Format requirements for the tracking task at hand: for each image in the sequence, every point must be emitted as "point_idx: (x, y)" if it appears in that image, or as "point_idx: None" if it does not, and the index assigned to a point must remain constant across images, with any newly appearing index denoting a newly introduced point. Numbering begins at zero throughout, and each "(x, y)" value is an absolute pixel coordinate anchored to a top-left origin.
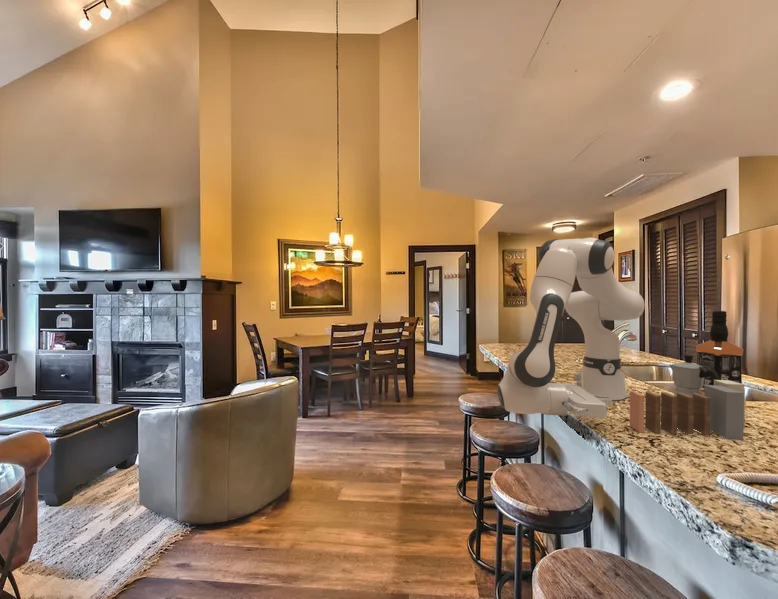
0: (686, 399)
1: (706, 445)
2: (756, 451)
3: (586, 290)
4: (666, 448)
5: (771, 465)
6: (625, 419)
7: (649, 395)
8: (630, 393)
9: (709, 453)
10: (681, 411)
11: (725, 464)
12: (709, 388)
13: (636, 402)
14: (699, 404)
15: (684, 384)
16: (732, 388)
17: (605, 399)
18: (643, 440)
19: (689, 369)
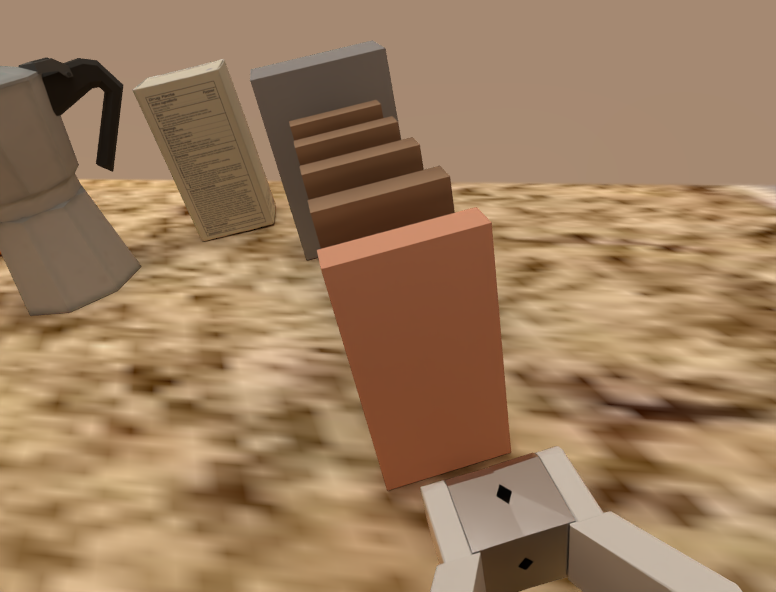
0: (383, 143)
1: (543, 263)
2: (514, 197)
3: None
4: (740, 363)
5: (639, 184)
6: (225, 500)
7: (368, 215)
8: (337, 286)
9: (653, 261)
10: None
11: (761, 239)
12: (285, 82)
13: (451, 302)
14: None
15: (38, 175)
16: (226, 83)
17: (603, 513)
18: (681, 444)
19: (21, 86)
